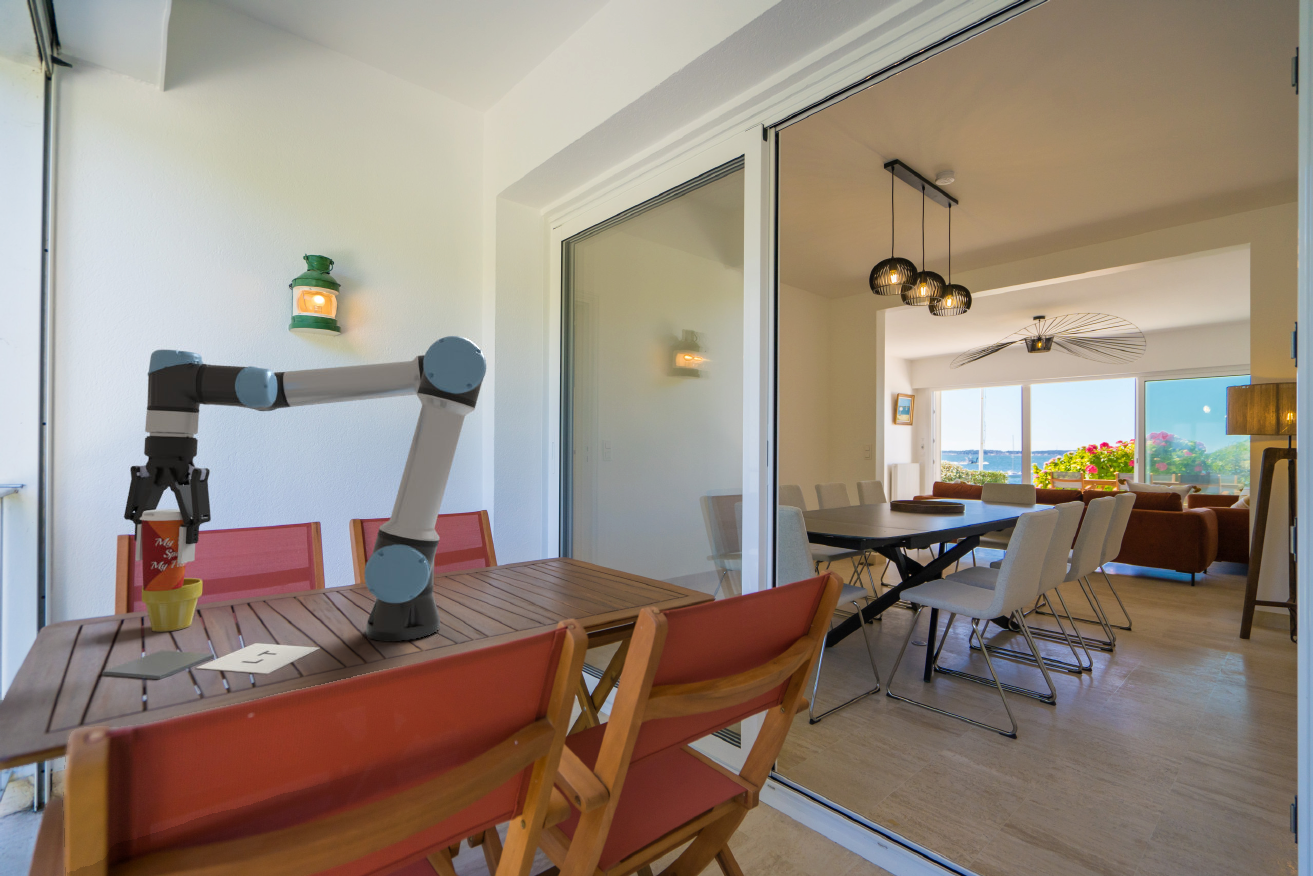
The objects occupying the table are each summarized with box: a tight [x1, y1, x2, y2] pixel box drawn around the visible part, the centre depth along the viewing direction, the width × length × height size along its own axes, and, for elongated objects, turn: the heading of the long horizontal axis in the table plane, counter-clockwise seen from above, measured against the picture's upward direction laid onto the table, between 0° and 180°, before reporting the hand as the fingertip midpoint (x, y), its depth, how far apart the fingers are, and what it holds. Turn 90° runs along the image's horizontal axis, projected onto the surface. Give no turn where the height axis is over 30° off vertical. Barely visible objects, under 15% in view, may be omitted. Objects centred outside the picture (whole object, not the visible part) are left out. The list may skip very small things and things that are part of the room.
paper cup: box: [140, 508, 192, 591], centre depth 109 cm, size 8×8×14 cm
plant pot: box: [141, 577, 203, 633], centre depth 131 cm, size 10×10×10 cm
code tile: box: [195, 642, 321, 675], centre depth 114 cm, size 14×14×1 cm
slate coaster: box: [102, 650, 215, 680], centre depth 109 cm, size 11×11×1 cm
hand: (165, 560), depth 109 cm, fingers closed on paper cup, 8 cm apart
